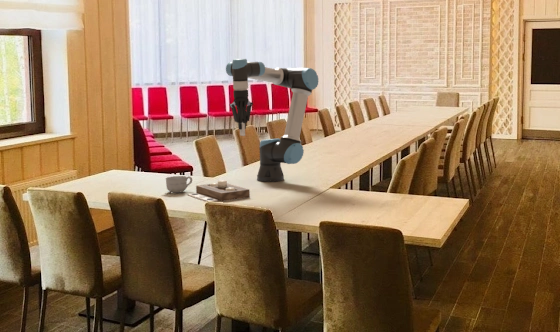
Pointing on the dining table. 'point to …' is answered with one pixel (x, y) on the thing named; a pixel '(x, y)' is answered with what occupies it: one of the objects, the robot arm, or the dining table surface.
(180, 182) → the teacup
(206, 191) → the board
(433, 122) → the dining table surface
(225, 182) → the button
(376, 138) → the dining table surface
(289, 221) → the dining table surface
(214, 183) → the button
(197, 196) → the card
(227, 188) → the button
